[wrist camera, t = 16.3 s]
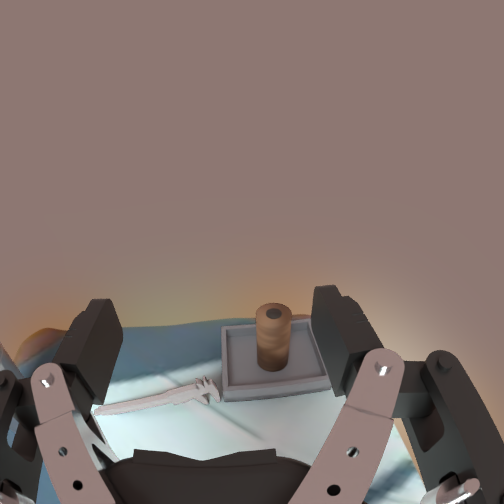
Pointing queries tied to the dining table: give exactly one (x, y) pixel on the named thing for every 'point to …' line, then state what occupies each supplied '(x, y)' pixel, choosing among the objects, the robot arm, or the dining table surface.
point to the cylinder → (273, 336)
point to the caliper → (165, 398)
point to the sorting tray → (264, 382)
